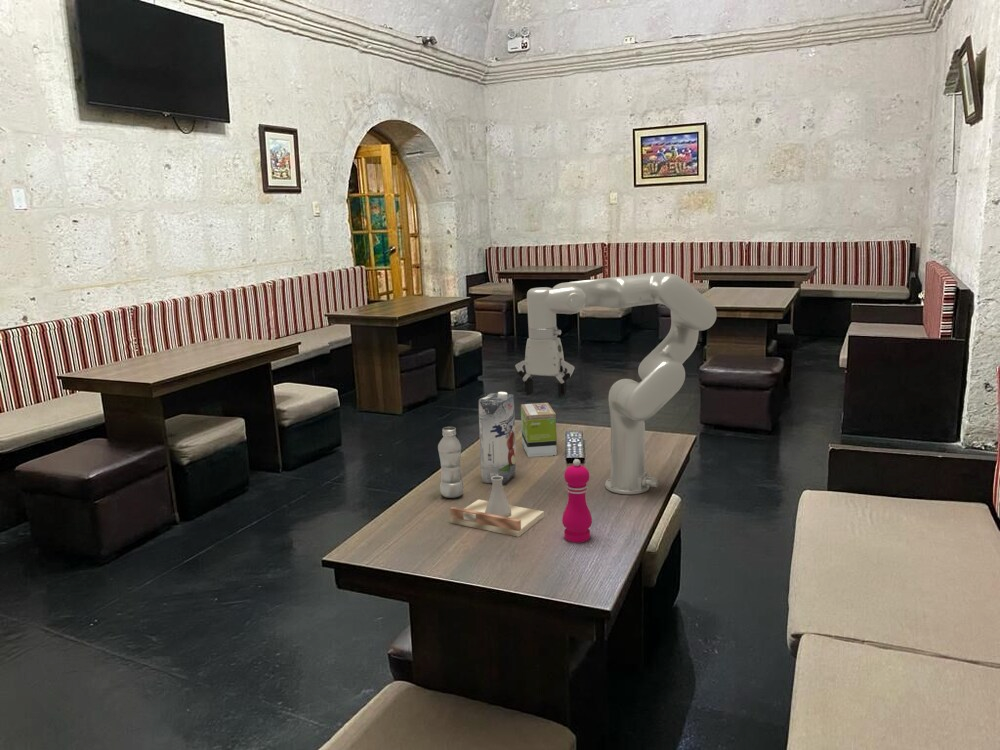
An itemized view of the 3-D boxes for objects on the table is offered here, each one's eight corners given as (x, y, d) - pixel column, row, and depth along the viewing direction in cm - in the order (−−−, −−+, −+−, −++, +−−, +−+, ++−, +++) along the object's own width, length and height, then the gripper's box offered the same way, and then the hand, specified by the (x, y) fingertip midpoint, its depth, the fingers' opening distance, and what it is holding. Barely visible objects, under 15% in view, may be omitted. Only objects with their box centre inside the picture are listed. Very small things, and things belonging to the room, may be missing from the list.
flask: (506, 520, 191) (505, 483, 188) (480, 517, 193) (479, 481, 191) (515, 510, 197) (514, 474, 195) (489, 507, 200) (488, 471, 197)
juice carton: (478, 483, 222) (475, 395, 217) (491, 472, 232) (489, 387, 226) (506, 486, 219) (503, 397, 213) (518, 475, 229) (516, 389, 223)
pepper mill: (572, 546, 178) (572, 466, 174) (556, 535, 185) (555, 457, 181) (597, 539, 182) (597, 460, 178) (581, 529, 188) (580, 452, 184)
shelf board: (543, 516, 196) (543, 502, 195) (518, 537, 184) (517, 522, 183) (478, 504, 206) (478, 490, 205) (450, 523, 194) (449, 508, 193)
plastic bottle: (460, 501, 209) (458, 432, 205) (437, 500, 210) (434, 431, 206) (466, 492, 215) (463, 425, 211) (443, 491, 216) (440, 425, 212)
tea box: (521, 444, 260) (520, 403, 257) (549, 443, 261) (549, 401, 258) (527, 458, 245) (526, 414, 242) (557, 456, 246) (557, 412, 243)
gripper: (577, 332, 201) (580, 394, 204) (520, 330, 209) (523, 390, 213) (566, 337, 194) (569, 400, 198) (507, 335, 203) (511, 396, 206)
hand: (545, 395), depth 205 cm, fingers open, 9 cm apart
